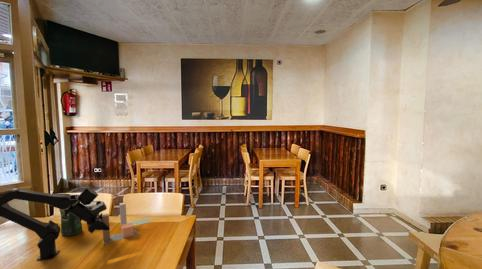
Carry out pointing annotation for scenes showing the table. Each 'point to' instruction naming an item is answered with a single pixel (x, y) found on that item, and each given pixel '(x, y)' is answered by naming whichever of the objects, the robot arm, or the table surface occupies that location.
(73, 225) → the coffee jar
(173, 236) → the table surface
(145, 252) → the table surface
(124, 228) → the terracotta cube
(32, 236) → the table surface
